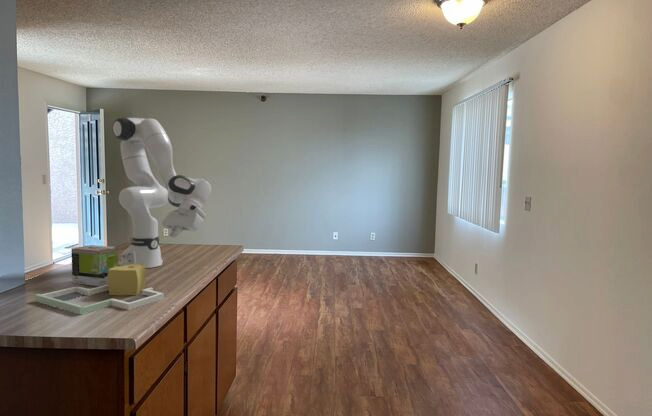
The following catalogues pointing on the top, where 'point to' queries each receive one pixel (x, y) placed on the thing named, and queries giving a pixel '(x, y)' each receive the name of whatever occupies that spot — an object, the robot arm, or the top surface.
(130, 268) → the cheese
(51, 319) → the top surface
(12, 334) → the top surface
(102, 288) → the frame
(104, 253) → the tea box
